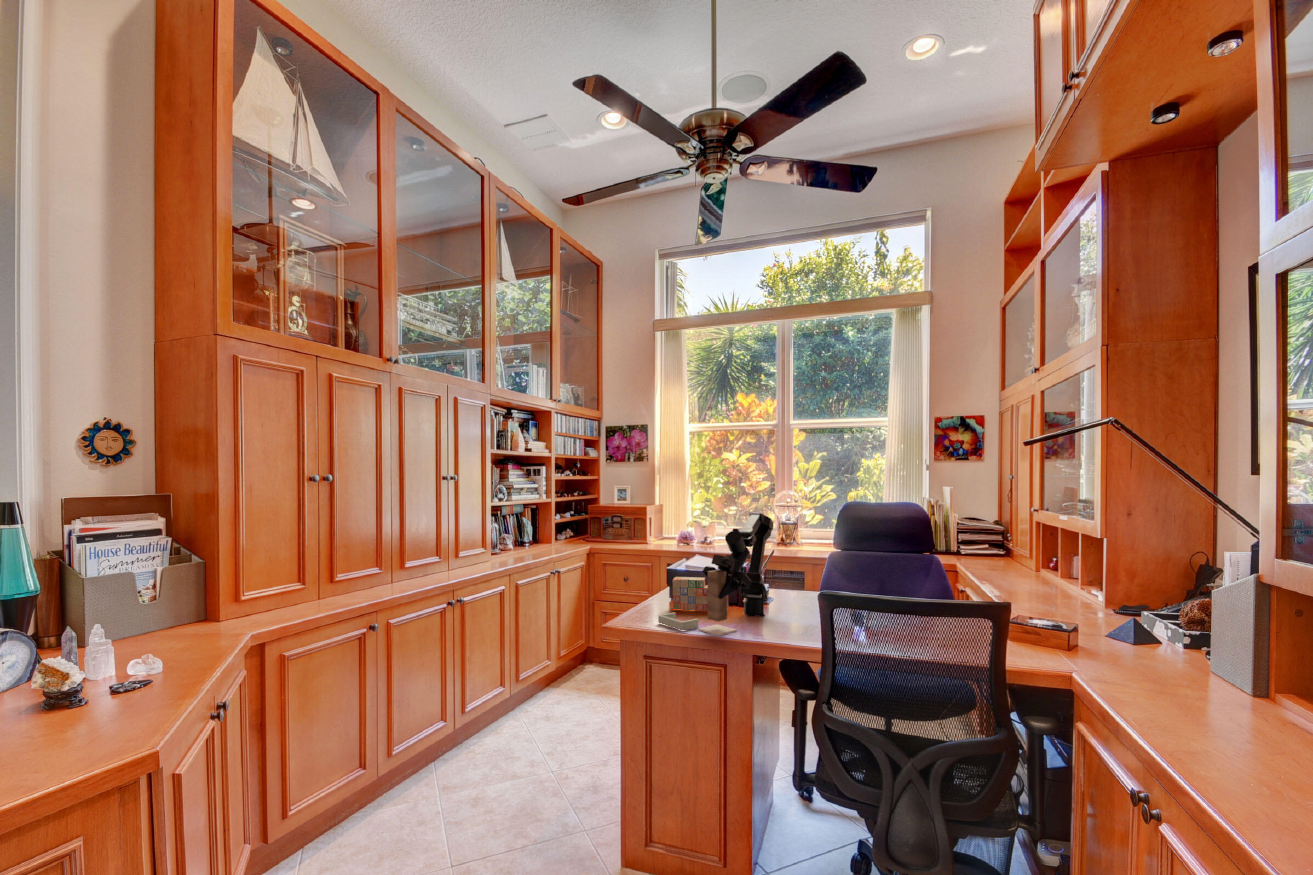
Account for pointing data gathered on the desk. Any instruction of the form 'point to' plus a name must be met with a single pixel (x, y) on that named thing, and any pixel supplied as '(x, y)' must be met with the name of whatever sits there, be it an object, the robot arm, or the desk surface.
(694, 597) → the stack of blocks
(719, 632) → the grey mat
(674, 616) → the grey u-shaped bracket
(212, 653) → the desk surface
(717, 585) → the walnut block
